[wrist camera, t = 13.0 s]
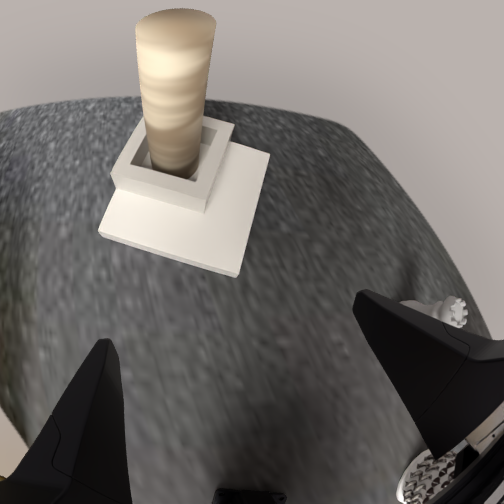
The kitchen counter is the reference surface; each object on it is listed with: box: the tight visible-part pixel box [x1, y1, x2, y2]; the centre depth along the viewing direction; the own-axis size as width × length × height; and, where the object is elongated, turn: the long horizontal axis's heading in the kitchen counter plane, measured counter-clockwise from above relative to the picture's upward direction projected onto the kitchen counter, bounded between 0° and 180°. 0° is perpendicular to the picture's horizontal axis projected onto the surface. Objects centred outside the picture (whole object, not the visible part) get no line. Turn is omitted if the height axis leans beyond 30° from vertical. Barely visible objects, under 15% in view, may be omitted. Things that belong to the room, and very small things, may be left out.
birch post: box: [136, 8, 216, 180], centre depth 17 cm, size 4×4×14 cm
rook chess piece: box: [399, 296, 468, 328], centre depth 22 cm, size 4×4×8 cm
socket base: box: [98, 116, 270, 278], centre depth 23 cm, size 12×12×4 cm
